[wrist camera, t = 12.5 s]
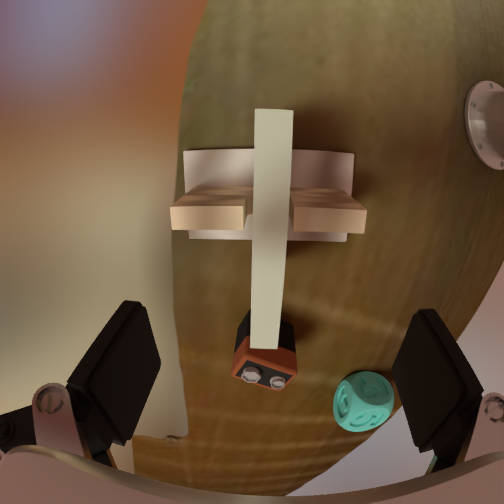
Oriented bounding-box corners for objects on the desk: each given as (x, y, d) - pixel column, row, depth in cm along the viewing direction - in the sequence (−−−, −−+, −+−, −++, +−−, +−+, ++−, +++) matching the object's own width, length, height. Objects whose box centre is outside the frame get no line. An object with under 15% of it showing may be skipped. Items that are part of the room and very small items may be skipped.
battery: (250, 306, 37) (244, 360, 28) (294, 324, 38) (299, 379, 29) (236, 328, 38) (228, 382, 29) (279, 344, 39) (280, 399, 30)
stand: (351, 153, 28) (382, 163, 20) (343, 237, 32) (367, 275, 24) (186, 150, 29) (154, 159, 20) (191, 235, 33) (166, 271, 25)
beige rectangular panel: (281, 121, 26) (293, 110, 13) (275, 264, 33) (277, 349, 20) (261, 120, 26) (255, 108, 13) (257, 263, 33) (250, 348, 20)
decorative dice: (368, 397, 45) (376, 430, 37) (330, 397, 45) (336, 432, 37) (386, 370, 41) (399, 405, 34) (346, 369, 41) (356, 407, 34)
